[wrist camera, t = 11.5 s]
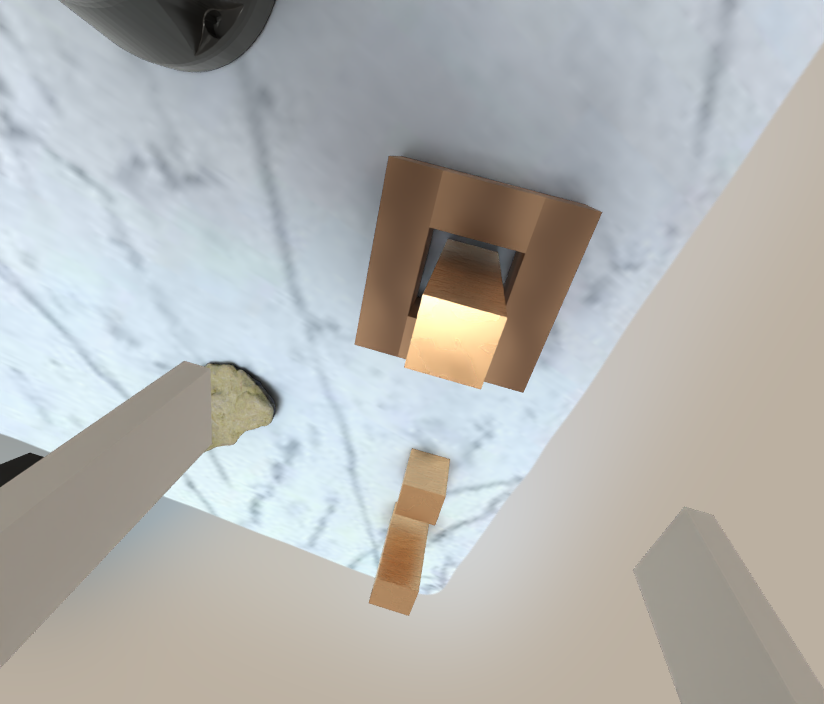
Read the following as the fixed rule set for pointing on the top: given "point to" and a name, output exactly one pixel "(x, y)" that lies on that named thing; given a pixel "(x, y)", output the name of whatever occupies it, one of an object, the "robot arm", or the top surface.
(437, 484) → the short pin
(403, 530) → the medium pin
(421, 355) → the long pin
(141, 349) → the top surface
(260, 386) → the rock
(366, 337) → the hole block
